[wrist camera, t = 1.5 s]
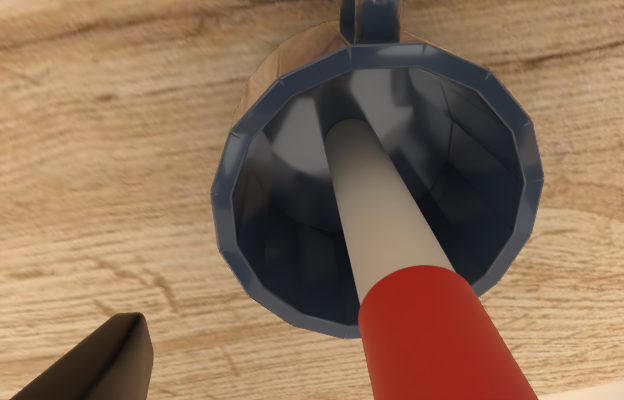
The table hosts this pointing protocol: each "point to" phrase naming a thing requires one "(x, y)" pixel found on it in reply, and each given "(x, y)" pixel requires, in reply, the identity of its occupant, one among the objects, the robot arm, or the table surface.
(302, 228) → the mug
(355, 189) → the marker
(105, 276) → the table surface
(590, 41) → the table surface
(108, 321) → the robot arm
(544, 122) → the table surface
